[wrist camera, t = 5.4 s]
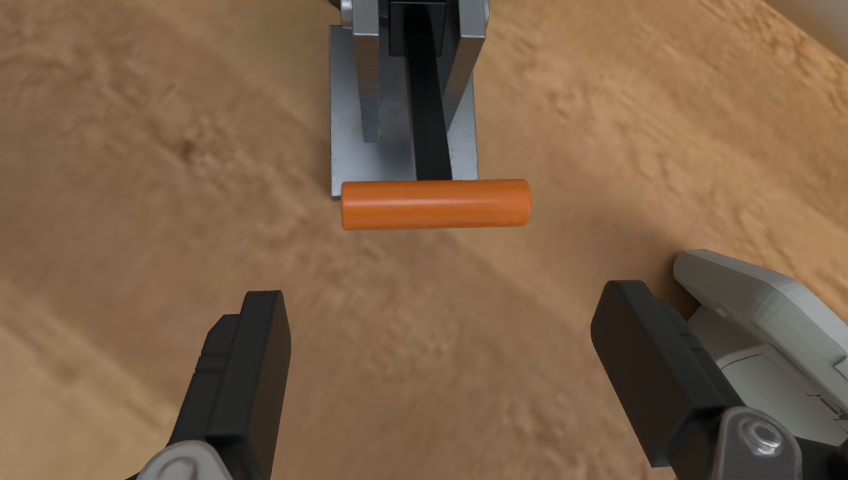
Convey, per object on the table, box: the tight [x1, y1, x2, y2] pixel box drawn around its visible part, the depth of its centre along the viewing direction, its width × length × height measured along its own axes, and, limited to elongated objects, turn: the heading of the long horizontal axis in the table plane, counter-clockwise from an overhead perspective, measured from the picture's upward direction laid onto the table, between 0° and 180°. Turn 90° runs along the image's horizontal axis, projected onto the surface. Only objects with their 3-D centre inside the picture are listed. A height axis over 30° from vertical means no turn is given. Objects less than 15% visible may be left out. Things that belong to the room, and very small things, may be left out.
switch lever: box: [341, 0, 531, 230], centre depth 17 cm, size 12×6×2 cm, turn 2°
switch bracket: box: [329, 0, 489, 200], centre depth 24 cm, size 11×9×13 cm
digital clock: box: [673, 249, 848, 446], centre depth 25 cm, size 16×9×11 cm, turn 35°
